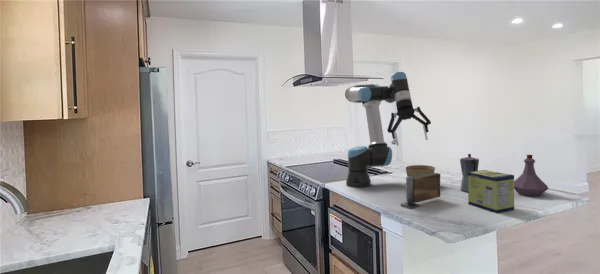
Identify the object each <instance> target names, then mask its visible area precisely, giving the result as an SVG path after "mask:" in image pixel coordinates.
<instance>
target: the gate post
mask: <svg viewBox="0 0 600 274" xmlns="http://www.w3.org/2000/svg"><path fill="white" fill-rule="evenodd" d="M405 182H406V184H405V186H406V188H405V190H406V202H403V203H400V207H403V208H405V207H406V209H409V210H413V209H417V208H420V204H418V203H413V177H411V176H408V177H407V176H406V177H405ZM416 207H417V208H416ZM412 208H413V209H412Z"/></svg>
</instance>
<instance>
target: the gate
mask: <svg viewBox="0 0 600 274" xmlns="http://www.w3.org/2000/svg"><path fill="white" fill-rule="evenodd" d="M437 198H441V173H437V172H436V173H435V172H434V173H433V174H428V175H423V176H418V177H413V203H416V204H418V203H420V202H424V201H428V200H429V201H430V200H433V199H437Z"/></svg>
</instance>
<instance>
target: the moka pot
mask: <svg viewBox="0 0 600 274" xmlns="http://www.w3.org/2000/svg"><path fill="white" fill-rule="evenodd" d="M459 164H460V168H461V169H460V170H461V174H462V178H461V185H460V190H461V192H466V193H468V172H473V171H479V164H480V158H476V157H472V154H471V153H467V156H466V157H461V158H460V159H459Z"/></svg>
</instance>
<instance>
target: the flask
mask: <svg viewBox="0 0 600 274" xmlns="http://www.w3.org/2000/svg"><path fill="white" fill-rule="evenodd" d="M523 161H524V169H523V172H522V173H521V175H519V177H517V178H516V179H514V191H516V193H517V194H518V195H519V196H520V195H521V196H524V197H532V198H533V197H535V198H536V197H540V196H541V195H543V194H544V193H545V192H546V191H547V190H549V186H548V185H547V184H546V183H545V182H544V181H543V180H542V179H541V178H540V177H539V176H538V175H537V173H536V169H535V163H536V160H535V159H533V154H526V158H525V159H524V160H523Z"/></svg>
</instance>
